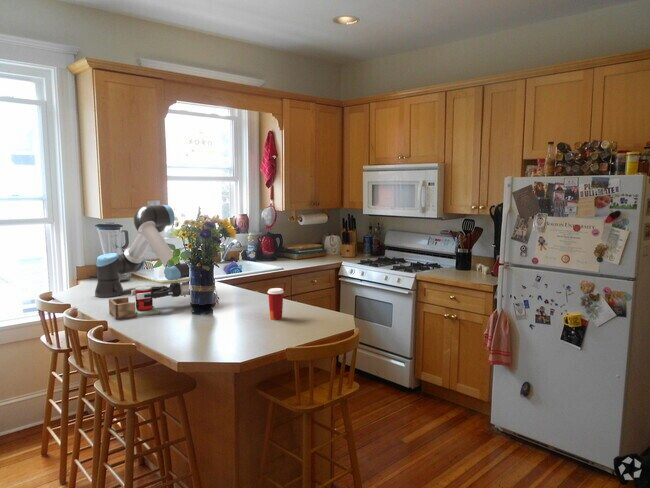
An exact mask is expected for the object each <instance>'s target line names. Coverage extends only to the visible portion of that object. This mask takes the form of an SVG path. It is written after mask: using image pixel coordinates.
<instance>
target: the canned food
mask: <svg viewBox="0 0 650 488" xmlns="http://www.w3.org/2000/svg"><path fill="white" fill-rule="evenodd" d="M152 287H153V286H150V285H149V286H148V285H143V286H137V287H135V289H134V290H135V307H136V309H137V310H138V311H148V310H151V309H152V308H153V306H154V305H153V300H154V298H146V299H138V300H137V294H140V293H148V292H151V291H152Z"/></svg>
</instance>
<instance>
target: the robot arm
mask: <svg viewBox="0 0 650 488" xmlns="http://www.w3.org/2000/svg"><path fill="white" fill-rule="evenodd" d="M174 223H175V212H174V210H173V208H172V207H171V206H170V205H167V204H157V205H156V204H155V205H143V206H140V207H139V208H137V210H136V211H135V213H134V215H133V225H134V227H135V230H136V231H137V233H138V235H137V236H136V237H135V239H134V241H133V242H132V244H131V245H130V247H127V248H126V249H125V250H124V251H123V253H122V254H121V253H120V254H119V253H117V252H110V253H103V254H101V255H99V256H97V258H96V261H95V262H96V277H97V284H96V287H95V290H94V295H95V296H94V297H96V298H112V297H118V296H122V295H124V293H125V292H124V288H123V286H122V283H121V280H120V276H121V275H126V274H135V273H137V272H140V271H142V270H143V269H144V267H145V262H146V260H145V257H144V255H145V254H146V252H147V251H148V250H149V247H151V249H152V250H153V252H154V254H155V255H156V257H157V258H158V259H159V260H160V263H161V264H162V265H163V267H164V270H163V274H164V277H165V278H166V280H168V281H173V282H171V283H170V284H169V286H165V285H161V286H151V287H152V291H151V292H148V293H140V294H137V300H138V299H146V298H152V299H159V298H164V297H169V296H170V297H172V298H178V297H187V296H191V295H190V289H189V281H190V280H183V281H177V280H181V279H185V278H186V279H187V278H189V267H188V265H187V263H188V262H183V263H181V262H180V261H179V263H178V264H176V265H174V266H172V267H168V266H167V261H168V260H169V259H171V258H172V257H173V253H174V252H173V251H172V249H171V248H170V246H169V245H168V243H167V242H166V241H165V239H164V238H163V236H162V235H161V233H162V232H164V230H165V228H166V227H167V226H168V227H170V226H172V225H173V224H174ZM174 281H175V282H174ZM176 281H177V282H176ZM130 292H131V297H133V296H135V289H132V290H131V291H130ZM135 297H136V296H135Z"/></svg>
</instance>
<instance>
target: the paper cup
mask: <svg viewBox="0 0 650 488" xmlns="http://www.w3.org/2000/svg"><path fill="white" fill-rule="evenodd" d="M284 292H285V291H284V289H283V288H280V287H274V288H273V287H272V288H269V289H268V290H267V296H268V297H267V298H268V307H269V310H268V311H269V318H270V320H273V321H279V320H282V319H283V305H284Z"/></svg>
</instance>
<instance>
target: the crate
mask: <svg viewBox="0 0 650 488" xmlns="http://www.w3.org/2000/svg"><path fill="white" fill-rule="evenodd" d="M108 308H109V309H108V311H109V312H108V313H109V315H110V316H112V317H113V318H114V319H115V320H121V319H130V318H136V317H142V316H149V315H154V314H161V311H160V309H158V307H155V306H154V305H153V308H152V309H151V310H148V311H138V310H137V309H136V301H132V302H129V297H128V296H124V297H117V298H116V297H115V298H111V299H109V298H108Z"/></svg>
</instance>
